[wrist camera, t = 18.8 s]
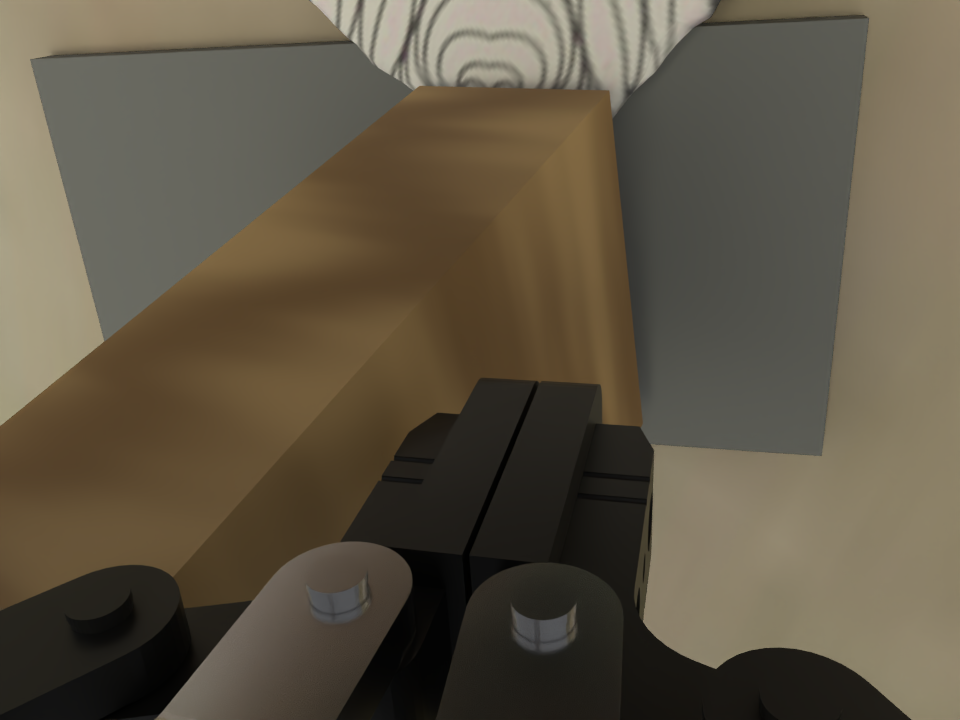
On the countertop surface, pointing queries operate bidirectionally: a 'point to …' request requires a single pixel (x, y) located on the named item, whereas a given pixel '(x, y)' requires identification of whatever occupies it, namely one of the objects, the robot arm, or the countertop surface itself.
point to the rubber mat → (642, 184)
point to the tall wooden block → (330, 346)
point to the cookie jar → (519, 40)
